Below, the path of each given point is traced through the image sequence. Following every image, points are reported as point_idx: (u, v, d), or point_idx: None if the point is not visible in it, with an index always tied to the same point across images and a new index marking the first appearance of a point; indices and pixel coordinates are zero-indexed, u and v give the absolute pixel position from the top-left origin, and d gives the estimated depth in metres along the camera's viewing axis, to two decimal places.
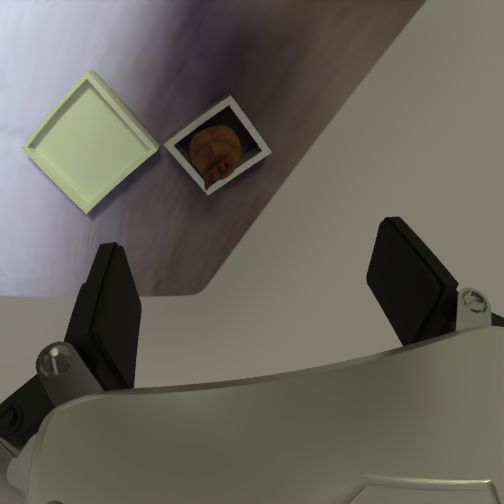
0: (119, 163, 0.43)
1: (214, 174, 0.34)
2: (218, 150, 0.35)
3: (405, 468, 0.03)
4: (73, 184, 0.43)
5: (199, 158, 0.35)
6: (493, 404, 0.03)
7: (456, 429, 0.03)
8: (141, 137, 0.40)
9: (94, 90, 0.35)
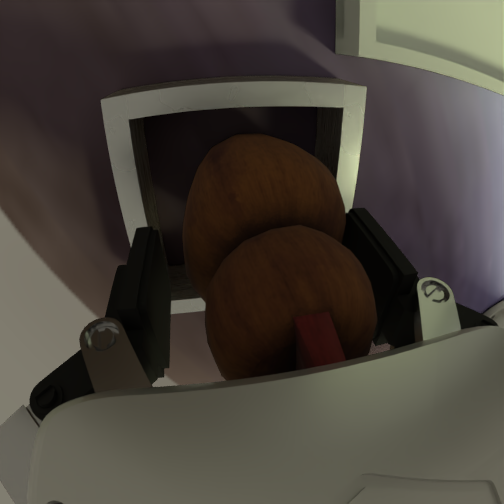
0: None
1: None
2: None
3: (406, 469, 0.03)
4: None
5: (372, 296, 0.07)
6: (493, 404, 0.03)
7: (456, 429, 0.03)
8: (415, 56, 0.10)
9: None
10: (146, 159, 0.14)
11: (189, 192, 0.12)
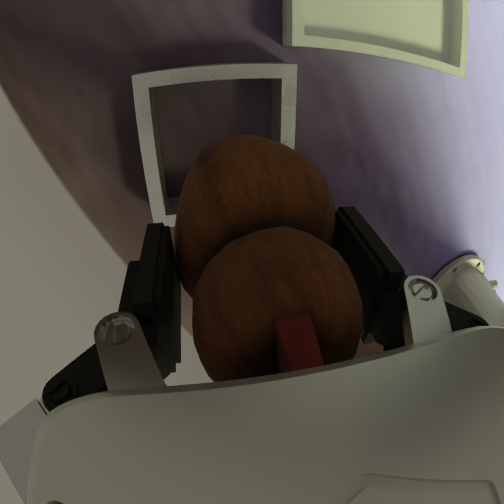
0: None
1: None
2: None
3: (405, 469, 0.03)
4: None
5: (358, 298, 0.07)
6: (493, 404, 0.03)
7: (456, 429, 0.03)
8: (334, 42, 0.17)
9: (433, 52, 0.19)
10: (156, 117, 0.20)
11: None
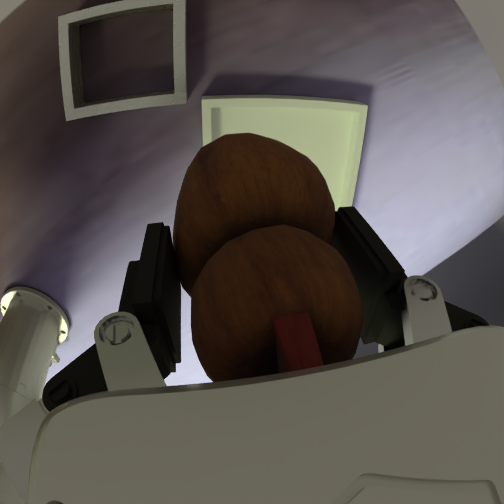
0: (268, 116, 0.28)
1: None
2: None
3: (405, 468, 0.03)
4: (344, 145, 0.31)
5: (358, 296, 0.07)
6: (493, 404, 0.03)
7: (456, 429, 0.03)
8: (208, 131, 0.27)
9: None
10: (147, 10, 0.20)
11: None
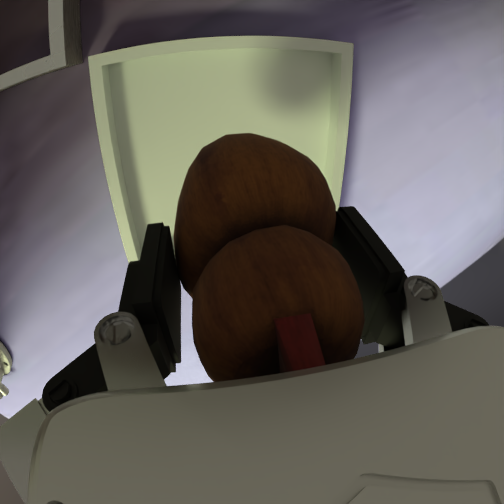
0: (195, 70, 0.17)
1: None
2: None
3: (405, 469, 0.03)
4: (322, 108, 0.19)
5: (359, 297, 0.07)
6: (493, 404, 0.03)
7: (456, 429, 0.03)
8: (101, 100, 0.15)
9: (145, 228, 0.23)
10: None
11: None
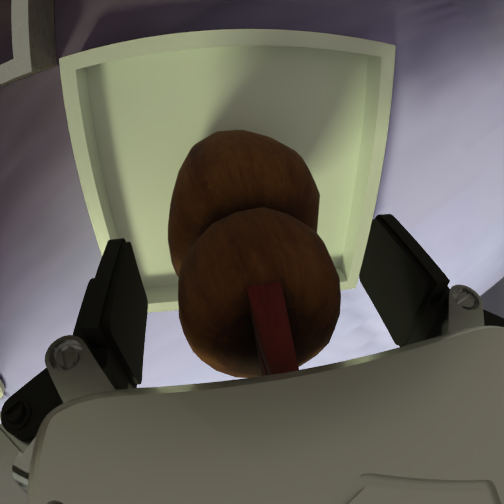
0: (196, 72, 0.13)
1: None
2: None
3: (406, 468, 0.03)
4: (353, 124, 0.16)
5: (333, 272, 0.08)
6: (493, 404, 0.03)
7: (456, 429, 0.03)
8: (76, 114, 0.12)
9: (138, 265, 0.19)
10: None
11: None
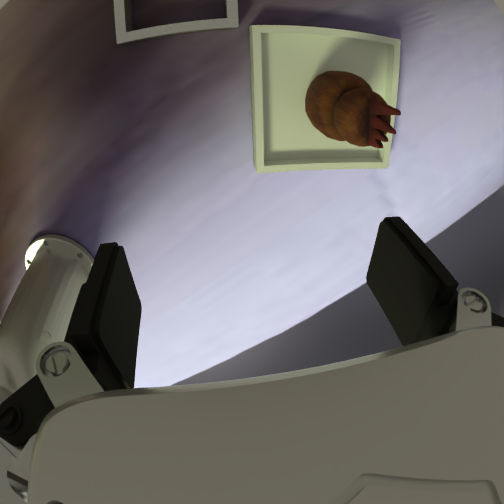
0: (312, 45, 0.26)
1: None
2: None
3: (405, 469, 0.03)
4: (381, 76, 0.29)
5: None
6: (493, 404, 0.03)
7: (456, 429, 0.03)
8: (258, 53, 0.25)
9: (268, 144, 0.33)
10: None
11: (310, 91, 0.26)
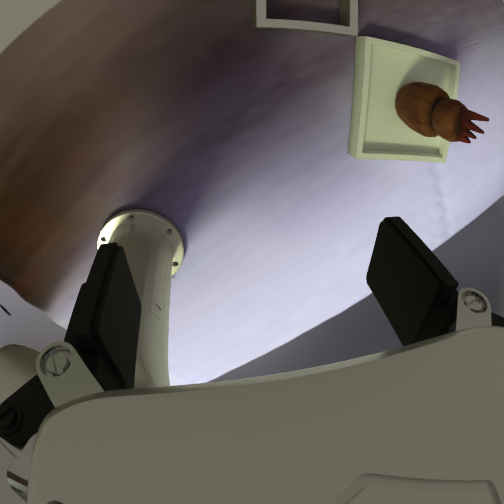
0: (401, 59, 0.31)
1: None
2: None
3: (405, 469, 0.03)
4: (444, 89, 0.33)
5: None
6: (493, 404, 0.03)
7: (456, 429, 0.03)
8: (368, 60, 0.29)
9: (363, 135, 0.37)
10: None
11: (405, 96, 0.31)
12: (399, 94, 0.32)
